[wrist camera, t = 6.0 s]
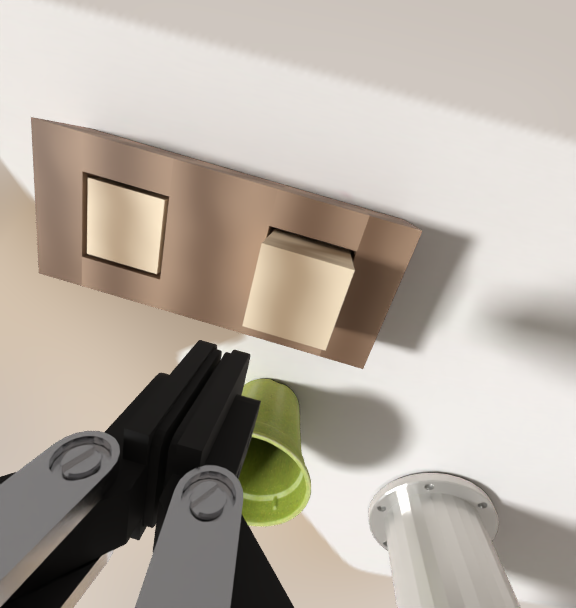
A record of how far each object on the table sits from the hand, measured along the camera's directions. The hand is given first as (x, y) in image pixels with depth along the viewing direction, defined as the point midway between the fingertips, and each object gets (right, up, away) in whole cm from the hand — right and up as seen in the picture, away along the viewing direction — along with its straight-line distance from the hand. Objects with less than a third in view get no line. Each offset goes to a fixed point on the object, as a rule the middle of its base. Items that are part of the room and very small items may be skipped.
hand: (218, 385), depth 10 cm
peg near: (+3, +5, +12) cm, 13 cm away
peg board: (-2, +8, +15) cm, 17 cm away
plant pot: (0, -7, +21) cm, 22 cm away
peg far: (-8, +9, +15) cm, 20 cm away
